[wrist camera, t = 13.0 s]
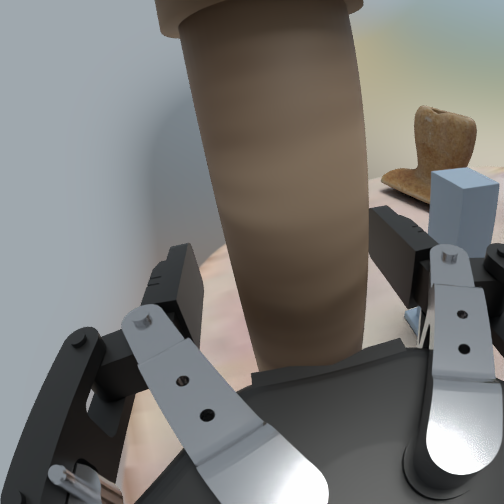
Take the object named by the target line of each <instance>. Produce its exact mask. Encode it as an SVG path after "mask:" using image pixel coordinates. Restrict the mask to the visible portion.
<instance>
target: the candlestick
mask: <svg viewBox="0 0 504 504" xmlns="http://www.w3.org/2000/svg"><path fill="white" fill-rule="evenodd" d="M155 4H156V10H157V15H158V20H159V25H160V31H161V33H162V34H163V35H164V36H167V37H170V38H179V39H180V40H181V45H182V50H183V54H184V60H185V64H186V69H187V74H188V79H189V84H190V88H191V93H192V98H193V102H194V107H195V111H196V116H197V121H198V125H199V129H200V134H201V138H202V143H203V147H204V152H205V156H206V161H207V165H208V169H209V173H210V178H211V182H212V186H213V191H214V195H215V199H216V203H217V208H218V212H219V215H220V220H221V224H222V228H223V232H224V236H225V241H226V245H227V249H228V253H229V257H230V261H231V265H232V269H233V273H234V277H235V281H236V285H237V289H238V293H239V297H240V301H241V305H242V309H243V312H244V316H245V320H246V324H247V328H248V332H249V335H250V339H251V343H252V347H253V351H254V354H255V358H256V362H257V365H258V369H259V372H261V371H267V370H272V369H278V368H283V367H288V366H326V365H333V364H335V363H338V362H340V361H342V360H344V359H346V358H348V357H350V356H352V355H353V354H355V353H357V352H359V351H361V350H362V343H363V333H364V322H365V310H366V296H367V278H368V249H369V197H368V168H367V152H366V137H365V124H364V114H363V104H362V95H361V87H360V80H359V72H358V66H357V59H356V53H355V47H354V41H353V35H352V30H351V26H350V20H349V14H352V13H354V12H356V11H358V10H359V9H361V8H362V6H363V0H155Z"/></svg>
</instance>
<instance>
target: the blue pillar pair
mask: <svg viewBox="0 0 504 504" xmlns="http://www.w3.org/2000/svg"><path fill="white" fill-rule="evenodd" d="M498 193H499V183H498V182H496V181H494V180H492V179H490V178H488V177H486V176H484V175H482V174H480V173H478V172H476V171H474V170H472V169H470V168H468V167H466V168H456V169H447V170H438V171H431V194H430V213H429V226H428V235H430V236H431V237H432V238H433V239H434V240H435V241H436V242H437V243H439V244H451V245H455V246H458V247H460V248H462V249H463V250H464V251H465V252H466V253H467V254H468V256H469V258H483V257H485V254H486V249H487V247H488V246H489V245H490V244H491V239H492V234H493V228H494V222H495V216H496V209H497V202H498ZM420 311H421V308H420V306H418V307H417V308H414V309H411V310H408V311H405V316H404V317H405V318H406V320H407V321H408V323H409V324H410V326H411V327H412V329H413V330H414V332H415V334H416V335H417V337H418V327H419V316H420Z"/></svg>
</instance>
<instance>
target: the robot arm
mask: <svg viewBox="0 0 504 504" xmlns="http://www.w3.org/2000/svg"><path fill="white" fill-rule="evenodd" d="M368 251H369V255H370V257H371V259H372V260H373V262H374V263H375V264H376V266H377V267H378V268H379V270H380V271H381V272H382V274H383V275H384V277H385V278H386V279H387V281H388V282H389V283H390V285H391V286H392V288H393V289H394V290H395V292H396V293H397V295H398V296H399V297H400V299H401V300H402V302H403V303H404V305H405V306H406V308H407V309H411V308H414V307H417V306H420V308H421V311H420V316H419V327H418V338H417V348H405V346H404V344H403V342H402V341H401V339H400V338H398V339H395V340H391V341H388V342H385V343H381V344H378V345H374V346H371V347H367V348H365V349H363V350H361V351H359V352H357V353H355V354H353V355H352V356H350V357H348V358H346V359H344V360H342V361H340V362H338V363H335V364H333V365H326V366H288V367H283V368H278V369H272V370H267V371H261V372H256V373H251V378H252V385H250V386H247V387H245V388H243V389H241V390H239V391H237V392H235V391H234V390H233V389H232V387H231V386H230V385H229V384H228V383H227V382H226V381H225V380H224V378H223V377H222V376H221V375H220V374H219V373H218V371H217V370H216V369H215V368H214V367H213V366H212V364H211V363H210V362H209V361H208V360H207V359H206V357H205V356H204V355H203V354H202V353H201V351H200V335H201V322H202V309H203V297H204V287H203V281H202V277H201V274H200V271H199V268H198V264H197V262H196V258H195V255H194V252H193V249H192V246H191V244H190V243H186V244H181V245H177V246H172V247H171V248H170V250H169V253H168V256H167V260H166V261H161V262H159V264H158V265H157V266H156V267H155V268H154V269H153V271H152V273H151V277H150V280H149V282H148V287H147V288H146V291H145V294H144V297H143V300H142V303H141V306H139V307H137V308H135V309H133V310H132V311H130V312H129V313H128V314H127V315H126V316H125V317H124V319H123V321H122V324H121V328H122V329H120V330H118V331H116V332H113V333H110V334H108V335H105V336H102V337H101V336H100V334H99V333H98V331H97V330H96V329H95V328H93V327H84V328H81V329H78V330H76V331H75V332H73V333H72V334H71V335H69V336H68V338H67V339H66V340H65V341H64V343H63V345H62V347H61V349H60V351H59V353H58V355H57V357H56V359H55V361H54V363H53V365H52V367H51V369H50V371H49V373H48V375H47V377H46V379H45V381H44V383H43V385H42V388H41V390H40V392H39V394H38V397H37V399H36V401H35V403H34V406H33V408H32V410H31V413H30V415H29V417H28V420H27V422H26V424H25V427H24V429H23V432H22V435H21V437H20V440H19V443H18V445H17V448H16V451H15V453H14V456H13V459H12V462H11V465H10V468H9V471H8V474H7V477H6V481H5V483H4V487H3V490H2V494H1V504H123V496H122V493H121V491H120V489H119V488H118V487H117V486H116V485H115V483H116V478H117V473H118V468H119V462H120V458H121V453H122V449H123V445H124V440H125V436H126V431H127V427H128V423H129V419H130V415H131V411H132V407H133V403H134V399H135V394H136V393H138V392H141V391H144V390H147V389H150V391H151V393H152V395H153V397H154V398H155V400H156V402H157V404H158V406H159V407H160V409H161V411H162V413H163V414H164V416H165V418H166V419H167V421H168V423H169V425H170V426H171V428H172V430H173V431H174V433H175V434H176V436H177V438H178V439H179V441H180V442H181V444H182V446H183V447H184V448H183V449H182V450H181V451H180V453H179V454H178V455H177V456H176V457H175V458H174V460H173V461H172V462H171V463H170V464H169V465H168V466H167V468H166V469H165V470H164V471H163V472H162V473H161V474H160V476H159V477H158V478H157V479H156V480H155V481H154V482H153V483H152V485H151V486H150V487H149V488H148V489H147V490H146V491H145V492H144V493H143V494H142V495H141V497H140V498H139V499H138V500H137V501H136V502H135V503H134V504H504V381H502V380H500V379H498V378H496V377H495V368H494V356H493V346H492V344H493V345H494V346H495V348H496V349H497V350H498V351H499V352H500V354H501V355H502V356H503V357H504V244H500V243H494V244H490V245H489V246H488V247H487V249H486V254H485V257H483V258H469V256H468V254H467V253H466V252H465V251H464V250H463V249H462V248H460V247H458V246H455V245H451V244H439V243H437V242H436V241H435V240H434V239H433V238H432V237H431V236H430V235H428V234H427V233H426V232H424V230H423V229H422V228H420V227H418V225H417V224H416V223H415V222H413V221H412V220H411V219H409V218H406V217H404V216H402V215H398V214H397V213H395V212H394V211H393V210H392V209H391V208H390V207H388V206H387V205H385V206H380V207H374V208H369V249H368ZM91 389H92V390H93V391H94V396H93V398H92V401H91V404H90V407H89V410H88V413H87V411H86V402H87V398H88V396H89V393H90V390H91Z"/></svg>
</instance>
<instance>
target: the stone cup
mask: <svg viewBox="0 0 504 504" xmlns="http://www.w3.org/2000/svg"><path fill="white" fill-rule="evenodd" d="M414 130H415V131H414V132H415V143H416V149H417V157H418V167H417V168H416V169H405V168H400V169H395V170H392V171H390V172H388V173H386V174H385V175H383V177H382V179H381V182H382V183H384V184H386V185H388V186H390V187H392V188H394V189H396V190H398V191H400V192H403V193H405V194H407V195H409V196H412V197H414V198H416V199H418V200H421V201H423V202H425V203H428V204H430V194H431V171H438V170H447V169H456V168H466V167H467V166H468V163H469V161H470V159H471V156H472V153H473V150H474V145H475V141H476V133H477V129H476V124H475V122H474V120H473V119H472V118H470V117H466V116H463V115H459V114H455V113H451V112H447V111H443V110H439V109H436V108H432V107H428V106H424V105H423V106H420V107H419V109H418V110H417V112H416V114H415V122H414Z"/></svg>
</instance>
